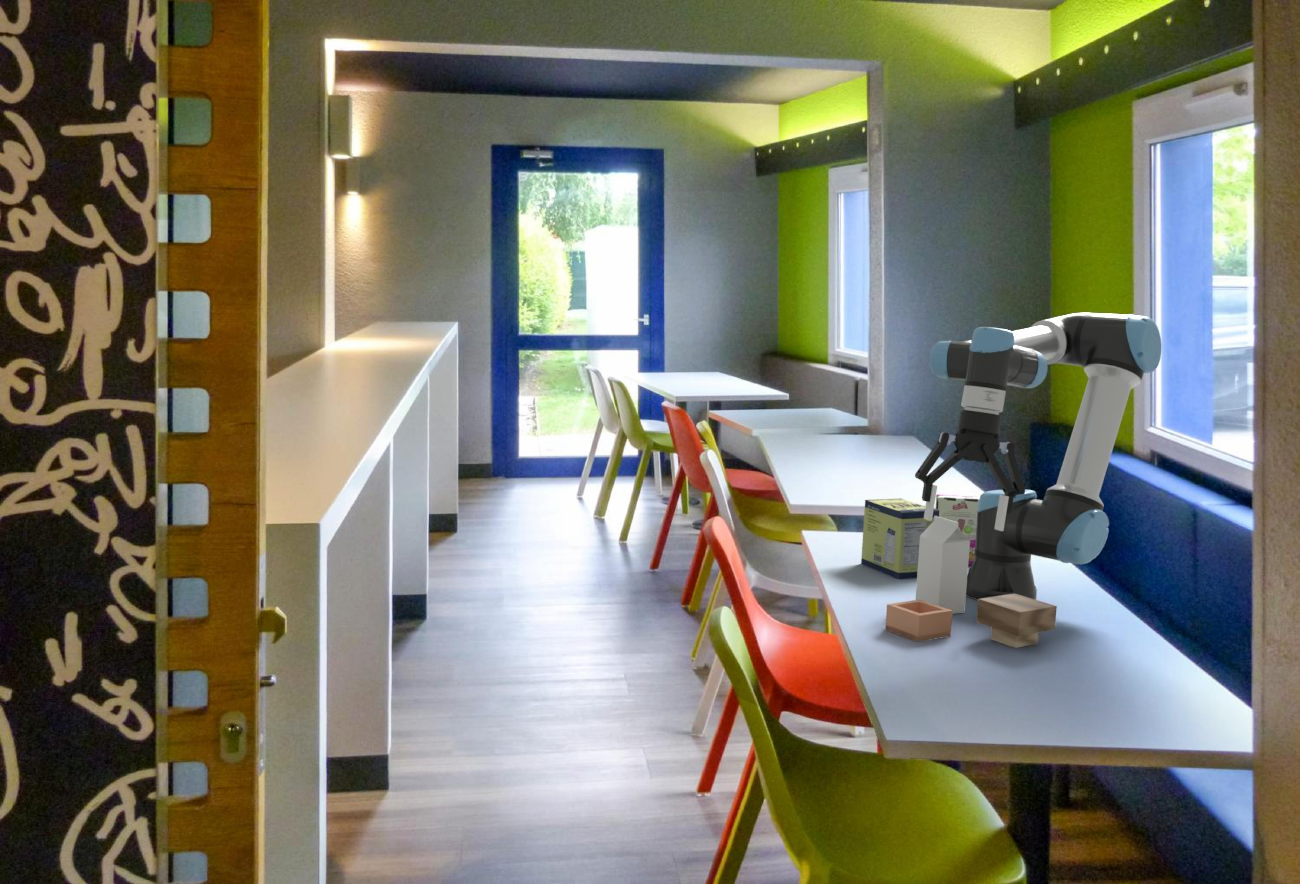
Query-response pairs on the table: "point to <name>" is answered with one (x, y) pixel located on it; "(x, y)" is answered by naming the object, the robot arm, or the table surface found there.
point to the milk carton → (943, 565)
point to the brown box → (1016, 614)
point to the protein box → (893, 536)
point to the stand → (1013, 638)
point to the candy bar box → (961, 516)
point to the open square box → (918, 620)
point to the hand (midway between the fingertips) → (963, 525)
